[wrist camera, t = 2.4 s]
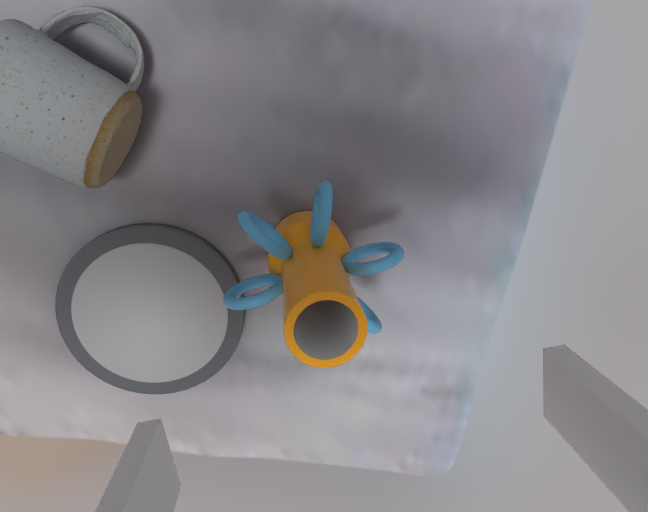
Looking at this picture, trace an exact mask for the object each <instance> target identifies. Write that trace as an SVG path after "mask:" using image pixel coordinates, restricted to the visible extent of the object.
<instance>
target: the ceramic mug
mask: <svg viewBox="0 0 648 512" xmlns="http://www.w3.org/2000/svg"><path fill="white" fill-rule="evenodd" d="M81 23H94V24H96V25H101V26H103V27H104V28H105V29H107V30H108V31H110V32H111V33H113V34H114V35H116V36H117V37H118V38H119V39H121V40H122V41H123V43H124V45H125V46H127V47H131V48H132V49H134V51H135V53H136V62H137V63H136V65H135V68H134V71H133V74H132V76H131V77H130V80H129V81H128V82H127V83H124V82H122V81H121V80H120V79H118V78H116V77H115V76H113V75H111V74H110V73H108V72H106V71H104V70H103V69H101V68H99V67H97V66H95V65H93V64H92V63H90V62H88V61H87V60H85V59H83V58H81V57H80V56H78V55H77V54H75V53H73V52H72V51H70V50H69V49H67V48H66V47H64V46H62V45H61V44H59V43H57V42H55V41H53V40H54V39H55V38H56V37H57V36H58V35H60V34H61V33H62V32H63V31H65V30H67V29H68V28H70V27H72V26H73V25H77V24H81ZM143 72H144V55H143V50H142V47H141V44H140V41H139V40H138V38H137V36H136V34H135V33H134V31H133V30H132V29H131V28H130V27H129V26H128V25H127V24H126V23H125V22H124V21H122V20H121V19H120V18H118V17H117V16H115V15H114V14H112V13H110V12H108V11H106V10H104V9H101V8H97V7H92V6H83V7H75V8H71V9H68V10H66V11H63V12H61V13H59V14H57V15H56V16H54V17H53V18H52V19H51V20H49V21H48V22H47V23H46V24H45V25H44V26H42V27H41V29H40V30H36V29H34V28H32V27H31V26H29V25H27V24H25V23H24V22H22V21H18V20H14V19H7V20H3V21H0V153H2V154H4V155H7V156H9V157H11V158H13V159H15V160H18V161H20V162H23V163H25V164H27V165H30V166H33V167H35V168H37V169H40V170H42V171H44V172H46V173H48V174H50V175H53V176H55V177H57V178H59V179H62V180H64V181H67V182H69V183H72V184H76V185H79V186H83V187H87V188H97V187H100V186H103V185H105V184H106V183H107V182H109V181H110V180H111V179H112V177H113V176H114V175H115V174H116V172H117V171H118V169H119V168H120V167H121V165H122V163H123V162H124V160H125V158H126V156H127V154H128V153H129V151H130V149H131V146H132V144H133V142H134V140H135V137H136V135H137V132H138V129H139V126H140V122H141V118H142V112H143V109H142V102H141V100H140V98H139V96H138V95H137V93H136V92H135V91H136V90H137V88H138V87H139V85H140V83H141V80H142V76H143Z"/></svg>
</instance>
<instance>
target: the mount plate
mask: <svg viewBox="0 0 648 512" xmlns="http://www.w3.org/2000/svg"><path fill="white" fill-rule="evenodd" d="M238 283H239V281H238V279H237V276H236V274H235V272H234V271H233V269H232V268H231V266H230V264H229V263H228V262H227V261H226V259H225V258H224V257H223V256H222V255H221V254H220V253H219V252H218V251H217V250H216V249H215V248H214V247H213V246H211V245H210V244H209V243H207V242H206V241H205V240H203V239H201V238H200V237H198V236H196V235H194V234H192V233H190V232H188V231H185V230H183V229H180V228H176V227H172V226H168V225H162V224H146V223H144V224H134V225H128V226H124V227H120V228H117V229H114V230H112V231H109V232H107V233H105V234H103V235H102V236H100V237H98V238H96V239H95V240H93V241H92V242H90V243H89V244H88V245H86V246H85V247H84V248H82V249H81V250H80V251H79V252H78V253H77V254H76V255H75V256H74V257H73V259H72V260H71V261H70V263H69V264H68V265H67V267H66V269H65V271H64V272H63V274H62V276H61V279H60V282H59V285H58V288H57V294H56V317H57V322H58V326H59V329H60V332H61V335H62V337H63V339H64V342H65V343H66V345H67V347H68V348H69V350H70V351H71V353H72V354H73V355H74V357H75V358H76V359H77V360H78V361H79V362H80V363H81V364H82V365H83V366H84V367H85V368H86V369H87V370H88V371H90V372H91V373H92V374H94V375H95V376H96V377H98V378H100V379H101V380H103V381H105V382H107V383H109V384H111V385H113V386H116V387H118V388H121V389H124V390H127V391H132V392H137V393H144V394H167V393H174V392H178V391H182V390H186V389H189V388H191V387H194V386H196V385H198V384H200V383H202V382H204V381H206V380H207V379H209V378H210V377H212V376H213V375H214V374H216V373H217V372H218V371H219V370H220V369H221V368H222V367H223V366H224V365H225V364H226V362H227V361H228V360H229V359H230V357H231V356H232V354H233V352H234V351H235V349H236V347H237V344H238V342H239V339H240V336H241V332H242V327H243V321H244V310H232V309H229V308H227V307H226V306H225V305H224V303H223V297H224V294H225V293H226V292H227V291H228V290H229V289H230V288H231V287H233V286H234V285H236V284H238ZM242 297H243V294H241V295H239V296H238V297H237V298H242Z"/></svg>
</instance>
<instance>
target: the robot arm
mask: <svg viewBox="0 0 648 512" xmlns="http://www.w3.org/2000/svg"><path fill="white" fill-rule="evenodd" d="M543 392H544V393H543V397H544V398H543V399H544V417H545V418H546V419H547V420H548V422H549V423H550V424H551V425H552V426H553V427H554V428H555V429H556V430H557V432H558V433H559V434H560V435H561V436H562V437H563V438H564V439H565V441H566V442H567V443H568V444H569V445H570V446H571V447H572V448H573V449H574V451H575V452H576V453H577V454H578V455H579V456H580V457H581V458H582V460H583V461H584V462H585V463H586V464H587V465H588V466H589V467H590V469H591V470H592V471H593V472H594V473H595V474H596V475H597V476H598V478H599V479H600V480H601V481H602V482H603V483H604V484H605V485H606V486H607V488H608V489H609V490H610V491H611V492H612V493H613V494H614V495H615V497H616V498H617V499H618V500H619V501H620V502H621V503H622V504H623V505H624V507H625V508H626V509H627V510H628V511H629V512H648V410H647V409H646V408H645V407H643V406H642V405H641V404H640V403H638V402H637V401H636V400H634V399H633V398H632V397H631V396H629V395H628V394H627V393H626V392H624V391H623V390H622V389H621V388H619V387H618V386H617V385H615V384H614V383H613V382H612V381H610V380H609V379H608V378H606V377H605V376H604V375H603V374H601V373H600V372H599V371H598V370H596V369H595V368H594V367H592V366H591V365H590V364H588V363H587V362H586V361H585V360H583V359H582V358H581V357H580V356H578V355H577V354H576V353H575V352H573V351H572V350H571V349H569V348H568V347H567V346H566V345H560V346H555V347H549V348H544V349H543ZM180 486H181V483H180V480H179V477H178V474H177V470H176V467H175V464H174V460H173V457H172V454H171V450H170V447H169V444H168V440H167V437H166V434H165V431H164V427H163V424H162V421H161V419H156V420H150V421H145V422H140V423H137V425H136V427H135V430H134V432H133V434H132V436H131V438H130V440H129V442H128V444H127V446H126V448H125V451H124V452H123V455H122V457H121V459H120V461H119V463H118V465H117V467H116V469H115V471H114V473H113V475H112V477H111V480H110V482H109V484H108V486H107V488H106V490H105V492H104V494H103V496H102V498H101V500H100V503H99V505H98V507H97V509H96V511H95V512H174V508H175V505H176V501H177V497H178V494H179V490H180Z"/></svg>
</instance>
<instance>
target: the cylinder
mask: <svg viewBox="0 0 648 512" xmlns="http://www.w3.org/2000/svg"><path fill="white" fill-rule="evenodd" d="M332 204H333V189H332V185H331V183H330V182H329V181H326V180H324V181H322V182H320V184H319V185H318V188H317V191H316V195H315V200H314V205H313V211H300V212H296V213H293V214H291V215H289V216H287V217H286V218H284V219H283V220H282V221H281V222H279V224H278V225H277V226H276V227H275V229H274V228H273V227H272V226H271V225H270V224H268V223H267V222H266V221H265V220H263V219H262V218H260V217H259V216H257V215H256V214H254V213H252V212H249V211H242V212H240V213H239V215H238V222H239V224H240V226H241V228H242V229H243V230H244V231H245V233H246V234H247V235H248V236H249V237H250V238H251V239H252V240H253V241H254V242H255V243H257V244H258V245H259V246H260V247H261V248H263V249H264V250H265V251H267V252H268V267H269V272H270V274H265V275H259V276H255V277H252V278H249V279H246V280H244V281H242V282H239V283H238V284H236V285H234V286H233V287H231V288H230V289H229V290H228V291H227V292H226V293H225V294H224V297H223V303H224V305H225V306H226V307H227V308H229V309H232V310H246V309H251V308H255V307H258V306H261V305H264V304H266V303H268V302H270V301H272V300H274V299H275V298H277V297H278V296H279V295H281V294H282V293H283V309H284V335H285V340H286V344H287V346H288V348H289V350H290V351H291V352H292V354H293V355H294V357H295V358H296V359H297V360H299V361H302V362H303V363H305V364H307V365H310V366H314V367H320V368H327V367H334V366H338V365H341V364H343V363H345V362H347V361H349V360H350V359H351V358H353V357H354V356H355V355H356V354H357V353H358V352H359V350H360V349H361V348H362V346H363V344H364V342H365V339H366V336H367V331H368V332H371V333H378V332H380V330H381V328H382V325H381V322H380V320H379V319H378V317H377V316H376V315H375V313H374V312H373V311H372V310H371V309H370V308H369V307H368V306H367V305H366V304H365V303H364V302H363V301H362V300H361V299H360V298H359V297H357V296H356V294H355V291H354V289H353V287H352V285H351V282H350V280H349V278H348V276H349V274H351V275H368V274H374V273H378V272H381V271H384V270H387V269H389V268H391V267H393V266H395V265H396V264H398V263H399V262H400V261H401V260H402V258H403V256H404V250H403V248H402V247H401V246H400V245H398V244H396V243H390V242H381V243H373V244H369V245H365V246H362V247H359V248H356V249H354V250H352V251H350V247H349V245H348V242H347V240H346V239H345V237H344V235H343V234H342V232H341V230H340V228H339V227H338V226H337V224H336V223H335V222H334V221H333V220H332V219H331V213H332ZM383 253H387V254H389V255H388V256H386V257H384V258H381V259H378V260H375V261H371V262H365V263H354V262H355V261H357V260H359V259H361V258H364V257H367V256H370V255H375V254H383ZM267 285H273V286H271V287H270V288H268V289H267V290H265V291H263V292H260V293H258V294H255V295H252V296H248V297H242V298H237V297H238V296H239V295H241V294H243V293H244V292H247V291H249V290H251V289H254V288H257V287H261V286H267Z"/></svg>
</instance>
